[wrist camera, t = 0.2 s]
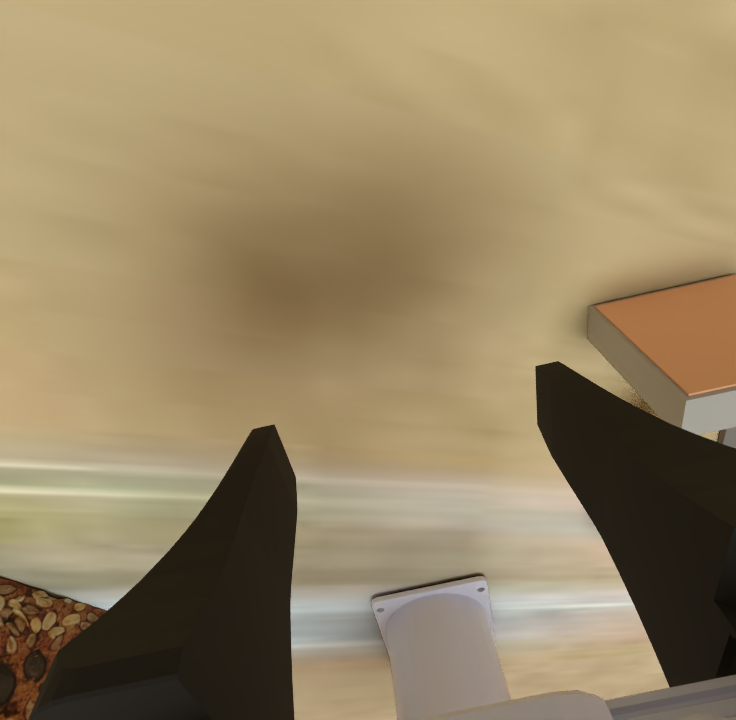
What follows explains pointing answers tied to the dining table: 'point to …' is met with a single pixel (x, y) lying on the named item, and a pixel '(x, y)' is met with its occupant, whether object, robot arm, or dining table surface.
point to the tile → (675, 350)
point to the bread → (33, 642)
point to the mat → (728, 437)
